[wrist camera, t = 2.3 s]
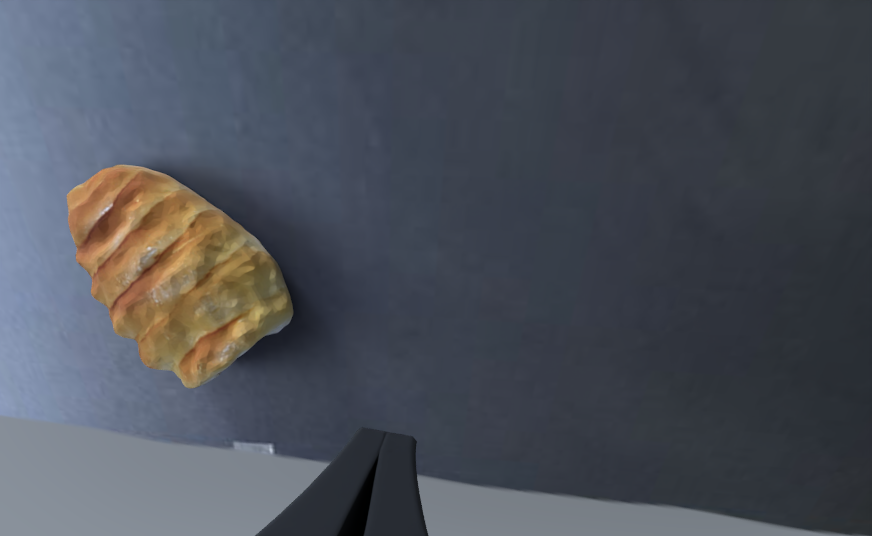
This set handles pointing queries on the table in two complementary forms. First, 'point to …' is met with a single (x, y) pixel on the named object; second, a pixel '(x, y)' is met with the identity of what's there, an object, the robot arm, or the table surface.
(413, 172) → the table surface
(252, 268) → the pastry
